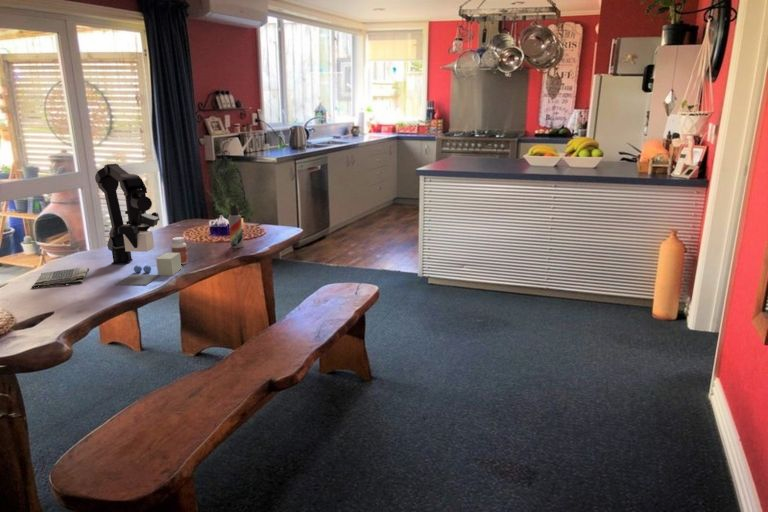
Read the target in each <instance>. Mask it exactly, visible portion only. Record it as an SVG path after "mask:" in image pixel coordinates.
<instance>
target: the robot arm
mask: <svg viewBox="0 0 768 512" xmlns="http://www.w3.org/2000/svg"><path fill="white" fill-rule="evenodd" d="M94 178H95V179H94V180H95V182H96V184H97V186H98V188H99V190H100V191H102V193H103V194H104V198H105V203H106V208H107V212H108V215H109V220H110V225H111V228H110V230H109V233H108V234H109V238H108V241H107V244H106V245H107V250H109V251H111V253H112V262H111V265H127V264H129V263H130V262H132V261H133V258H132V251H125V243H124V236H123V234H124V235H125V236H126V237H127V238H128V240H129V241H130V243H131V244H132V245H133V247H134V248H137V235H138V234H139V233H140V231H149V229H150V228H153V227H155V226H158V222H159V221H160V216H159V213H158V212H156V211H154V212H152V213H147V211H149V210H150V209H151V208H152V205H153V201H152V199H151V198H150V197H149V196H147V195H146V194H148V191H147V186H146V185H145V183H144V181H143V179H142V178H141V177H140V175H138V174H135V173H128V172H127V171H126V170H124V169H123V168H122V167H121V166H120V165H119V164H118V163H107V164H105V165H104V167H102V168H100V169H99V170H98V171H97V172H96V174H95V176H94ZM118 187H120V188H121V190H122V192H123V196H124V197H125V198H124V199H125V205H126V206H125V207H126V210H124V214H125V215H127V220H126V224H124V220H123V215H122V212H121V211H122V210H121V207H120V206H121V205H120V202H119V198H118V193H117V191H118V189H119V188H118Z"/></svg>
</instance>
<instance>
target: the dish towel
mask: <svg viewBox="0 0 768 512" xmlns="http://www.w3.org/2000/svg"><path fill="white" fill-rule="evenodd" d="M89 272H90V268H89V267H77V268H70V269H62V270H60V269H59V270H57V271H56V270H55V271H47V272H41V273H40V276H39V277H38V279H37V280H36V281H35V282H34V284H32V286H31V289H32V288H33V289H35V288H34V287H38V286H39V287H44V288H51V287H50V286H54V287H57V286H56V285H64V286H67V285H66V284H69V285H70V284H73V285H78V283H79V285H80V284H81V285H82V284H83V283H84V281H85V279H86V278H87V275H88V273H89Z"/></svg>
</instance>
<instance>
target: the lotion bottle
mask: <svg viewBox="0 0 768 512" xmlns="http://www.w3.org/2000/svg"><path fill="white" fill-rule="evenodd" d="M239 213H240V212H239V206H238V205H230V206H229V215H228V225H229V226H228V227H229V239H230V246H231V248H233V249H239V248H242V247H243V246H244V237H243V226H242V225H243V223H242V216H241V214H239Z"/></svg>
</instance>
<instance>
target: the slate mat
mask: <svg viewBox="0 0 768 512" xmlns="http://www.w3.org/2000/svg"><path fill="white" fill-rule="evenodd" d="M160 276H161V275H158V274H129V275H128V276H127V277H125V278H123V279H122V280H120V281H117V283H115V286H148V285H149V284H150V283H152V282H153V281H155V280H156V279H158V278H159V277H160Z"/></svg>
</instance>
